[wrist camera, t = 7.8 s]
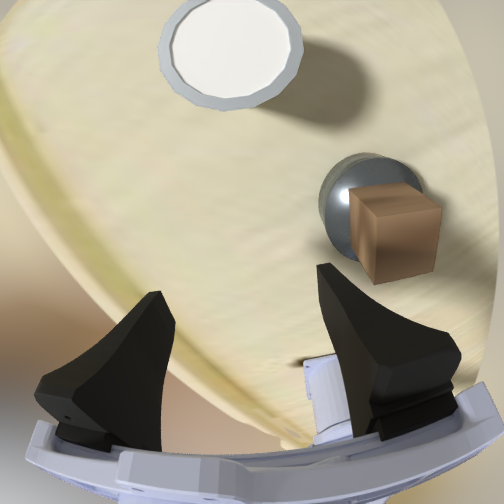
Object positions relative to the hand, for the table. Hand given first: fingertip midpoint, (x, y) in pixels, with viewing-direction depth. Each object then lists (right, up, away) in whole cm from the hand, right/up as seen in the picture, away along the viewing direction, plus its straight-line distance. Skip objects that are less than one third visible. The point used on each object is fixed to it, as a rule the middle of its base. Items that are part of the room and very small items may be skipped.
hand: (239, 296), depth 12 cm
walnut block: (+10, +5, +6) cm, 12 cm away
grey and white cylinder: (-1, +15, +4) cm, 15 cm away
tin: (+10, +6, +9) cm, 15 cm away
